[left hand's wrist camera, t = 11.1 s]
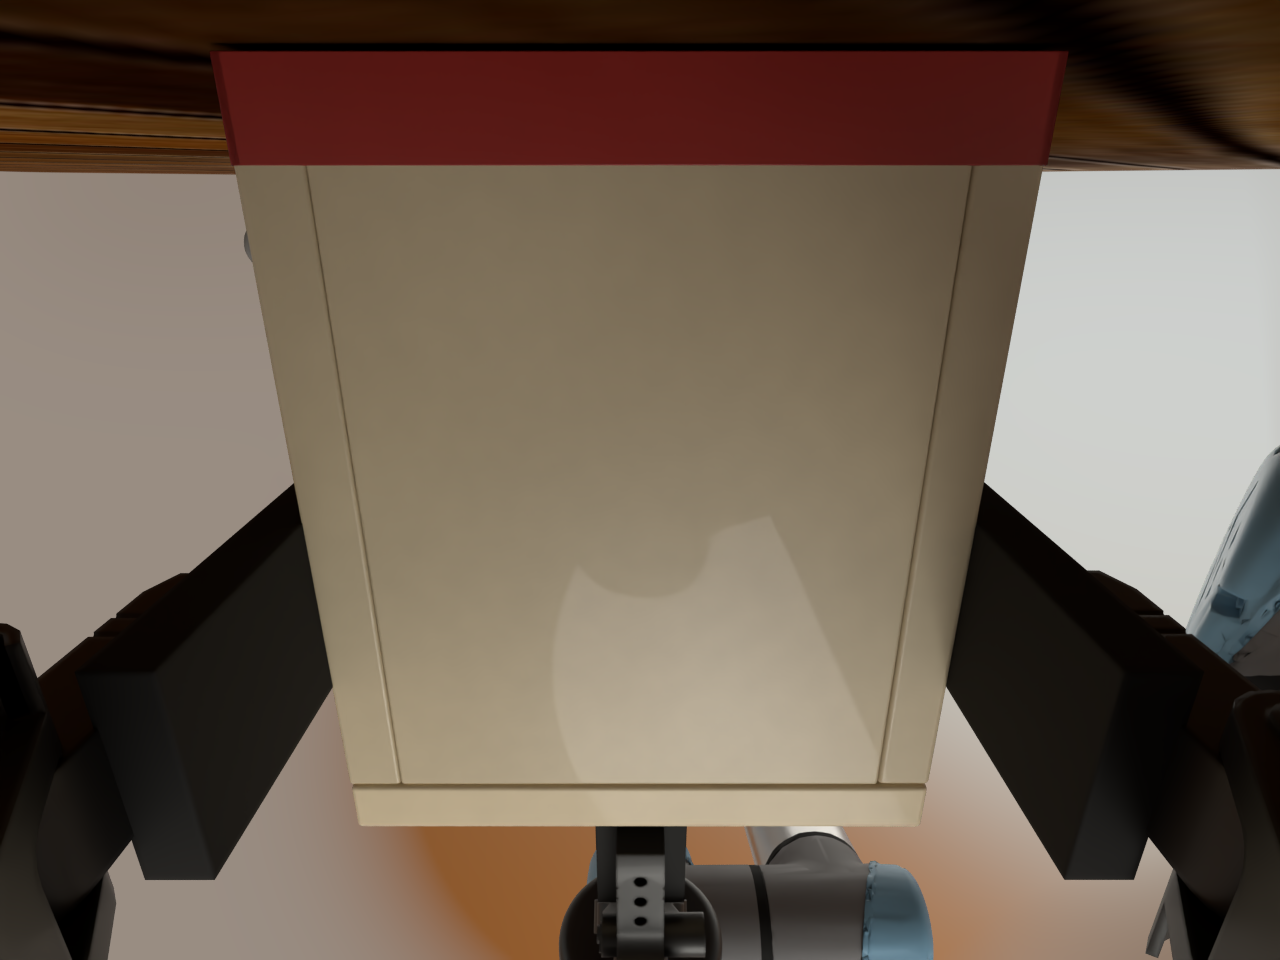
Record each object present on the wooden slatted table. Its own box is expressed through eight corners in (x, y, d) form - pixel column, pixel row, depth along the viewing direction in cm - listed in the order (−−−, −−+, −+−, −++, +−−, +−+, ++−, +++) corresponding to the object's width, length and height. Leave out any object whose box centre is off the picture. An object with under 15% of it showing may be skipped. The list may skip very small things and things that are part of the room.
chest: (783, 140, 24) (763, 440, 28) (497, 140, 24) (516, 439, 28) (1069, 50, 8) (930, 786, 12) (208, 50, 8) (347, 785, 12)
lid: (759, 432, 29) (748, 607, 31) (520, 432, 29) (531, 607, 31) (929, 787, 12) (871, 1091, 15) (349, 787, 12) (407, 1091, 15)
